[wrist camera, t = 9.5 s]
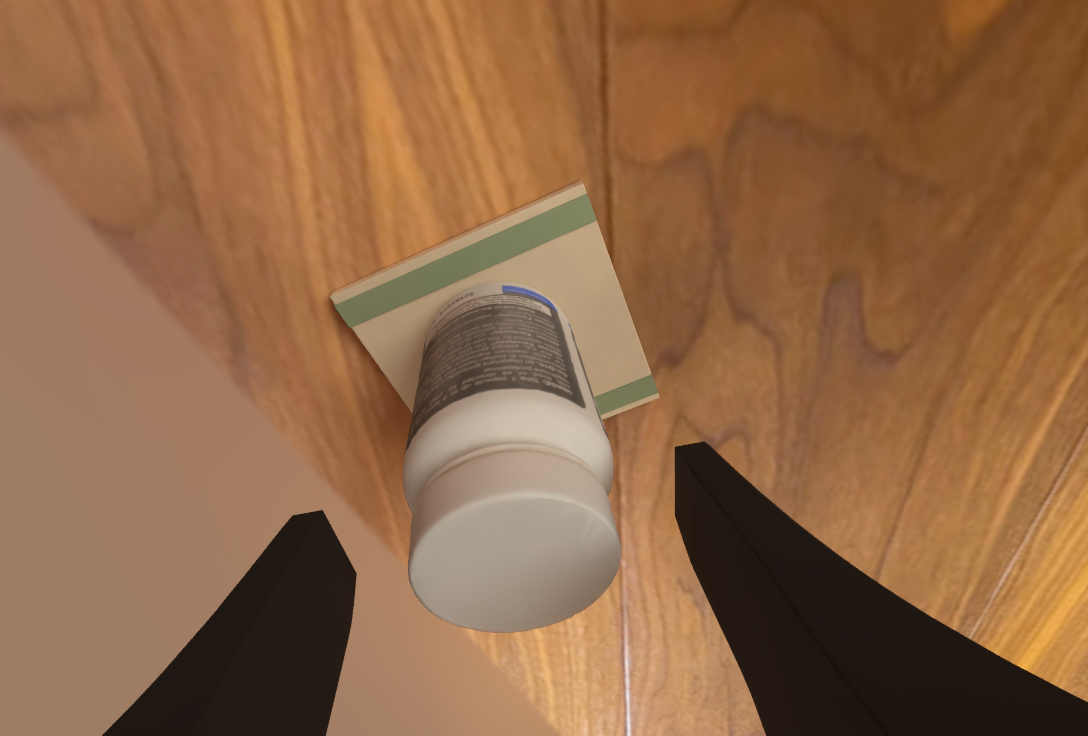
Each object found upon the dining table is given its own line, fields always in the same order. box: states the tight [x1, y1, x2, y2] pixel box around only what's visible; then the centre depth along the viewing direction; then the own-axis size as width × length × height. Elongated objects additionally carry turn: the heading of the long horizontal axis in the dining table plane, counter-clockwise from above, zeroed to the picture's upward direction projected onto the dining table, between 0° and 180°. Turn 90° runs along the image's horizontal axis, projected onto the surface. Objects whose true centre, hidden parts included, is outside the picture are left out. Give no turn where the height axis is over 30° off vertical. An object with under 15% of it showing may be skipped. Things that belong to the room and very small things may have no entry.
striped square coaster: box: [330, 181, 659, 420], centre depth 17 cm, size 8×8×1 cm
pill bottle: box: [403, 282, 621, 633], centre depth 13 cm, size 5×5×8 cm
